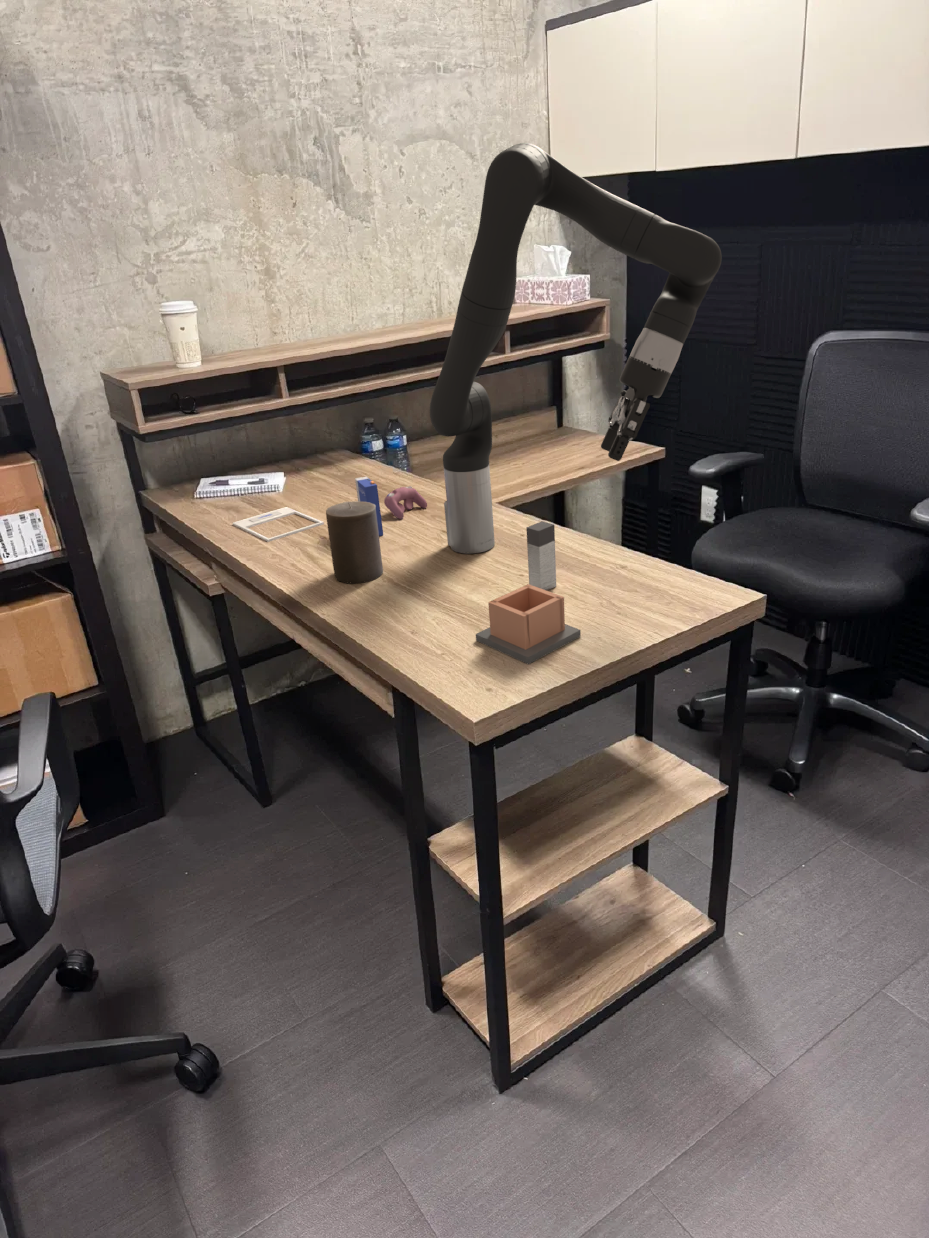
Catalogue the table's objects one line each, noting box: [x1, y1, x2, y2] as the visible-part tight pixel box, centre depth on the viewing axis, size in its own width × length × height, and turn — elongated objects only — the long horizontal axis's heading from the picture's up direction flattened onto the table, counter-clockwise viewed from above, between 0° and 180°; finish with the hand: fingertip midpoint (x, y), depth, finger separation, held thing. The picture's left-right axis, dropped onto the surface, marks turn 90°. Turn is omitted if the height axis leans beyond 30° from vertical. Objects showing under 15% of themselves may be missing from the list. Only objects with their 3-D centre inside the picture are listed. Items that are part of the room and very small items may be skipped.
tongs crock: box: [475, 583, 582, 665], centre depth 134 cm, size 12×12×7 cm
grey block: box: [525, 520, 557, 591], centre depth 150 cm, size 3×4×12 cm
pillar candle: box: [325, 500, 384, 585], centre depth 162 cm, size 10×10×15 cm
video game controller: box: [383, 485, 428, 520], centre depth 197 cm, size 10×5×7 cm, turn 141°
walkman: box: [354, 476, 384, 537], centre depth 185 cm, size 8×3×12 cm, turn 23°
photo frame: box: [232, 506, 325, 543], centre depth 197 cm, size 15×1×18 cm
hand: (609, 454), depth 143 cm, fingers open, 8 cm apart
